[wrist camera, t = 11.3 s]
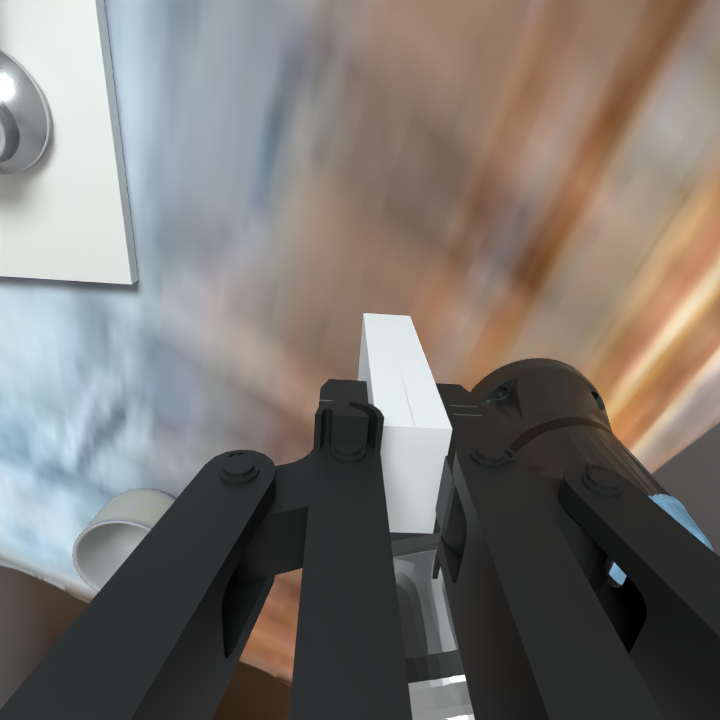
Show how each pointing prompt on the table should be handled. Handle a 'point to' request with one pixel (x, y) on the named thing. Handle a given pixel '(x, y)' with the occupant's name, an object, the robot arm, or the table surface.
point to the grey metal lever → (21, 118)
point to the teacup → (117, 533)
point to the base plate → (67, 151)
